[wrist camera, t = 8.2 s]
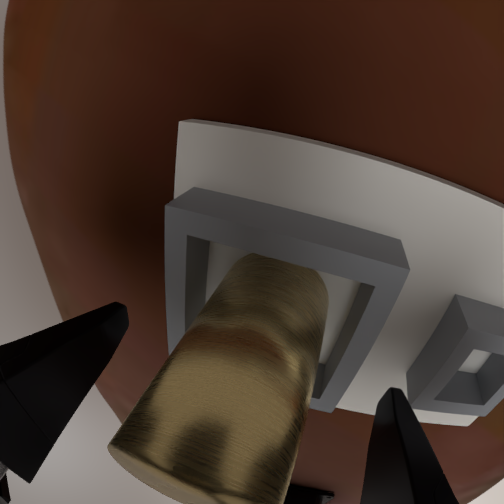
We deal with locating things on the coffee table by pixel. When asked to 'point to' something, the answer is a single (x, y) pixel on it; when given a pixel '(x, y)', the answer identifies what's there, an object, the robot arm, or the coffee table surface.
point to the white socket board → (349, 262)
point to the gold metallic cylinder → (232, 391)
